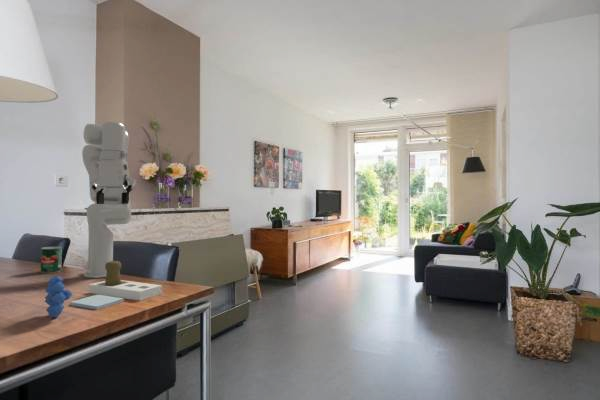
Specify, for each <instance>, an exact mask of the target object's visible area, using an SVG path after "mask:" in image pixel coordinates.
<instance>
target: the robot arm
mask: <svg viewBox="0 0 600 400" xmlns="http://www.w3.org/2000/svg"><path fill="white" fill-rule="evenodd" d="M82 133H83V134H82V135H83V140H84V142H85V143H86V144H87V145H84V146H83V148H82V152H81V153H82V155H81V156H82V161H83V162H82V163H83V165H84V167H85V169H86V172H87V175H88V181H89V182H88V185H89V186H88V187H89V197H90V200H91V201H92V202H94V203H91V204H89V205H88V206H87V208H86V219H87V226H88V247H87V248H88V251H87V253H88V254H87V255H88V256H87V258H88V259H87V261H88V262H87V264H86V265H85V266H83V270H86V272H84V273H83V277H85V278H88V279H89V278H91V279H98V278H106V274H107V270H106V268H105V265H106V263H107V262H110V261H114V234H113V231H112V230H111V229H110V228H109V227H108V226H110V225H113V226H114V225H126V224H129V223H130V221H131V219H132V203H131V196H130V194H131V192H132V190H133V189H134V188H135V186H136V184H137V181H136V179H134V178H132V177H130V170H129V164H128V161H127V160H126V158H127V157H128V156H129V155H128V147H129V144H130V139H129V138H130V135H129V133H128V131H127V130H126V127H125V125H124V124H123V123H121V122H119V121H117V122H116V121H106V122H103V123H102V124H96V123H87V124H86V125H85V126H84V129H83V132H82Z"/></svg>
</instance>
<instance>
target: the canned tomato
mask: <svg viewBox="0 0 600 400" xmlns="http://www.w3.org/2000/svg"><path fill="white" fill-rule="evenodd" d="M62 252H63V246H58V245H57V246H44V247H41V248H40V274H57V273H60V272H62V261H63V259H62V257H63V253H62ZM56 272H57V273H56Z"/></svg>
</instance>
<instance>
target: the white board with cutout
mask: <svg viewBox="0 0 600 400" xmlns="http://www.w3.org/2000/svg"><path fill="white" fill-rule="evenodd" d="M88 293H89V294H94V295H97V294H98V295H104V296H111V297H117V298H124V299H126V300H133V301H144V300H146V299H147V300H148V299H150V298H153V297H156V296H159V295H162V294H163V285H161V284H153V283H147V282H138V281H131V280H122V279H121V284H120V285H116V286H105V280H103V281H102V280H101V281H97V282H94V283H90V284H88Z"/></svg>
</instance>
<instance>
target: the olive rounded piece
mask: <svg viewBox="0 0 600 400" xmlns="http://www.w3.org/2000/svg"><path fill="white" fill-rule="evenodd" d="M105 268H106V270H107V274H106V277H105V280H104V281H105V286H116V285H120V284H121V280H122V279H121V271H120V270H121V269H122V263H121V262H120V261H119V260H113V261H110V262H107V263H106V265H105Z"/></svg>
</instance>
